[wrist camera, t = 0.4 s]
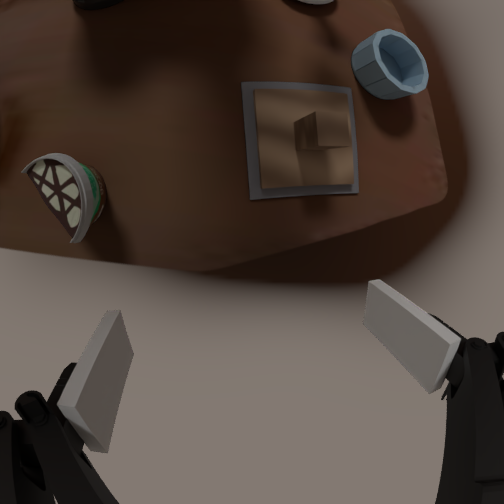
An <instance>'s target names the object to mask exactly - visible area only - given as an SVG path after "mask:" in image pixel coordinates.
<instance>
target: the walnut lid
mask: <svg viewBox="0 0 504 504" xmlns="http://www.w3.org/2000/svg"><path fill="white" fill-rule="evenodd" d="M253 98H254V111H255V123H256V136H257V149H258V162H259V175H260V188H262V189H264V188H278V187H293V186H312V185H337V184H354V167H353V148H352V135H351V123H350V113H349V104H348V95H347V94H345V93H336V92H327V91H315V90H299V89H254V90H253Z"/></svg>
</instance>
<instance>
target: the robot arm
mask: <svg viewBox="0 0 504 504" xmlns="http://www.w3.org/2000/svg"><path fill="white" fill-rule="evenodd" d="M121 1H123V0H73V2H74V3H75V4H76V5H77V6H78V7H79V8H82V9H86V10H95V9H101V8H105V7H108V6H111V5H114V4H117V3H119V2H121ZM363 324H364V325H365V326H366V327H367V328H368V329H369V330H370V332H371V333H372V334H373V335H374V336H376V338H377V339H378V340H379V341H380V342H381V343H382V344H383V345H384V346H385V347H386V348H387V349H388V350H389V351H390V352H391V353H392V354H393V355H394V357H395V358H396V359H397V360H398V361H399V362H400V363H401V364H402V365H403V366H404V367H405V368H406V369H407V370H408V372H409V373H410V374H411V375H412V376H413V377H414V378H415V379H416V380H417V381H418V382H419V383H420V385H421V386H422V387H423V388H424V389H425V390H426V391H427V392H428V393H429V394H431V393H433V392H434V391H436V390H438V389H440V388H441V386H442V384H443V382H444V380H445V378H446V379H447V380H448V381H449V383H448V385H447V387H446V390H445V391H444V394H443V396H442V398H441V400H443V399H444V397H445V396H446V395H447V399H446V400H447V420H446V437H445V448H444V457H443V464H442V471H441V477H440V484H439V488H438V493H437V498H436V502H435V504H504V380H503V378H502V375H503V373H504V332H500V333H499V334H497V337H496V339H495V342H493V343H487V342H486V341H484V340H482V339H480V338H469V339H468V340H467V339H466V338H464V337H463V336H462V335H460V334H459V333H458V332H457V331H455V330H454V329H453V328H451V327H449V326H448V325H447V324H446V323H443V321H442V320H440V319H439V318H437V317H436V316H434V315H431V314H429V313H426V312H425V311H424V310H422V309H421V308H420V307H418V306H417V305H415V304H414V303H413V302H411V301H410V300H408V299H407V298H406V297H404V296H403V295H401V294H400V293H398V292H397V291H396V290H394V289H393V288H391V287H390V286H389V285H387V284H386V283H384V282H383V281H381V280H380V279H378V280H373V281H369V283H368V291H367V299H366V306H365V313H364V320H363ZM133 355H134V353H133V350H132V347H131V344H130V341H129V338H128V335H127V332H126V328H125V325H124V322H123V318H122V315H121V311H120V310H116V311H115V310H114V311H107V312H106V313H105V315H104V317H103V318H102V320H101V322H100V324H99V325H98V327H97V329H96V330H95V332H94V334H93V336H92V337H91V339H90V341H89V343H88V345H87V346H86V348H85V350H84V352H83V353H82V356H81V357H80V359H79V361H78V363H71V364H69V365H68V366H67V367H66V368H65V369H64V370H63V372H62V374H61V376H60V379H58V381H57V383H56V386H55V387H54V389H53V391H52V393H51V395H50V397H49V399H48V401H47V402H46V400H45V399H44V397H43V396H42V394H41V393H40V392H38V391H27V392H25V393H23V394H21V395H20V396H19V397H18V399H17V400H16V402H15V410H16V411H17V413H18V414H19V415H20V417H21V418H22V419H23V420H14V419H13V418H12V416H11V415H10V414H9V413H8V412H6V411H0V504H55V500H54V496H55V498H56V500H57V502H58V504H119V503H118V501H117V500H116V499H115V498H114V496H113V495H112V494H111V492H110V491H109V489H108V488H107V487H106V485H105V484H104V482H103V481H102V480H101V478H100V476H99V475H98V473H97V472H96V470H95V469H94V467H93V466H92V464H91V462H90V461H89V459H88V457H87V456H86V454H85V453H84V452H83V451H82V449H83V445H84V443H85V444H86V446H87V447H88V448H89V449H90V450H91V451H94V452H101V453H108V449H109V445H110V440H111V436H112V432H113V428H114V423H115V419H116V415H117V411H118V407H119V404H120V400H121V396H122V392H123V389H124V385H125V381H126V378H127V375H128V371H129V368H130V365H131V362H132V358H133ZM53 494H54V496H53Z"/></svg>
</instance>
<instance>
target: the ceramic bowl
mask: <svg viewBox="0 0 504 504" xmlns="http://www.w3.org/2000/svg"><path fill="white" fill-rule="evenodd" d="M351 66H352V70H353V73H354V75H355V77H356V79H357V80H358V82H359V83H360V84H361V86H362V87H363V88H364V89H365V90H366V91H367V92H369V93H370V94H372V95H373V96H375V97H377V98H380V99H384V100H390V99H392V100H393V99H397V98H401V97H404V96H408V95H412V94H416V93H418V92H420V91H421V90H423V89H425V88H426V84H427V81H428V76H429V75H428V70H427V66H426V61H425V59H424V58H423V56H422V54H421V53H420V51H419V49H418V48H417V46H416V45H415V44H414V43H413V42H412V41H410V39H408V38H407V37H406V36H405V35H404V34H402V33H399V32H397V31H394V30H391V29H386V30H382V31H378V32H376V33H375V34H373V35H372V36H370V37H369V38H367V39H366V40H364V41H363V42H361V43H360V44H358V46H357V47H356V48H355V49H354V50H353V52H352V55H351Z"/></svg>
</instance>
